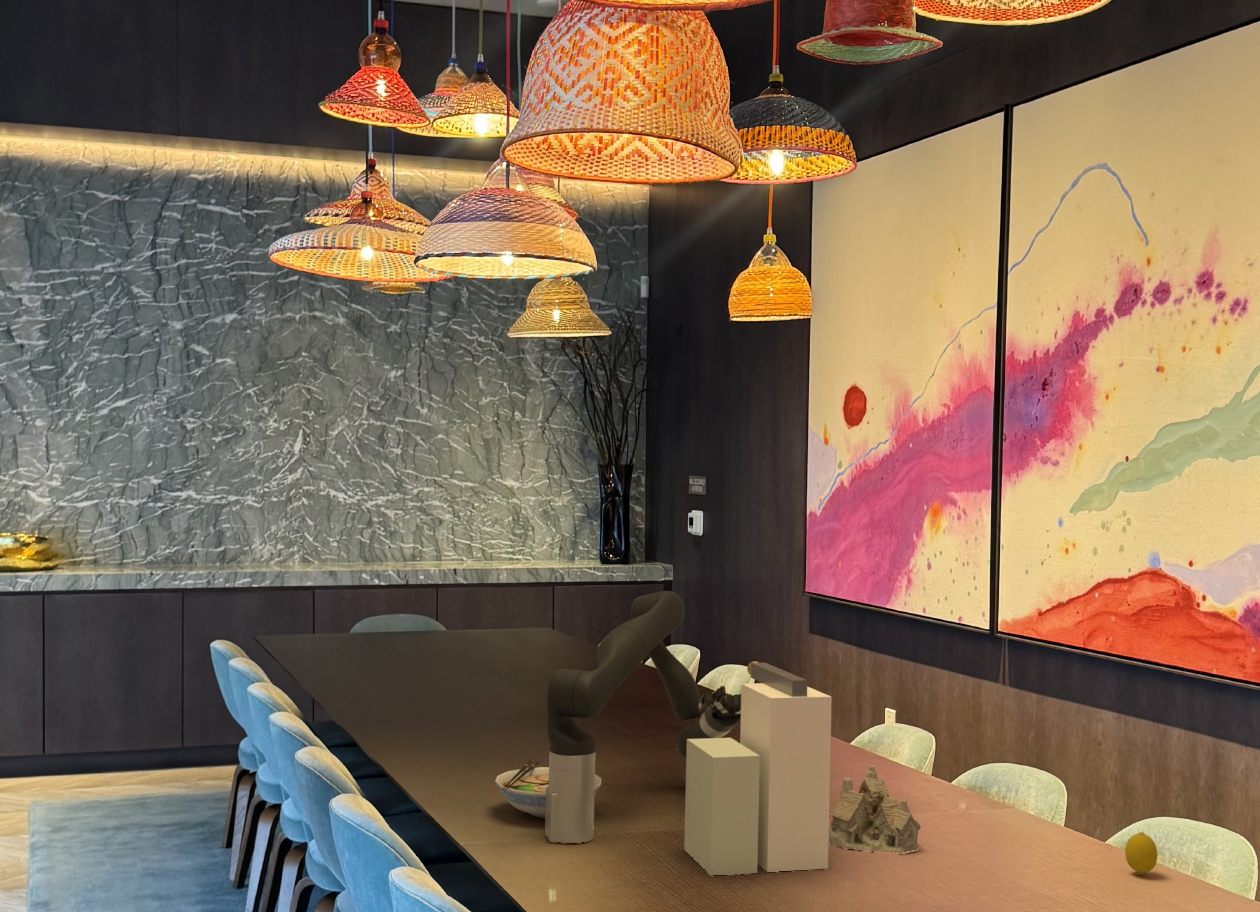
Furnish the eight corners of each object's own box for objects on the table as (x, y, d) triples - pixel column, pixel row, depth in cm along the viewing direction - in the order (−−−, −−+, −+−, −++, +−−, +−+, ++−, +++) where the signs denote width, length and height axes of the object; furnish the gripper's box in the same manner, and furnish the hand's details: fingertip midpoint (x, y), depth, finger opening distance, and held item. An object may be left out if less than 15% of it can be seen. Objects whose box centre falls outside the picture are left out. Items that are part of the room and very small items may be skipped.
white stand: (767, 873, 228) (771, 698, 228) (737, 847, 243) (741, 683, 244) (827, 869, 231) (831, 696, 231) (794, 844, 246) (798, 682, 247)
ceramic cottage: (815, 836, 252) (822, 763, 251) (885, 833, 258) (891, 761, 257) (856, 864, 237) (863, 786, 237) (928, 860, 243) (935, 784, 243)
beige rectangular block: (710, 876, 225) (713, 757, 225) (684, 850, 240) (686, 739, 241) (757, 873, 227) (759, 755, 227) (728, 848, 243) (730, 737, 243)
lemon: (1148, 870, 235) (1149, 828, 235) (1162, 880, 229) (1162, 836, 229) (1120, 870, 234) (1120, 827, 235) (1132, 879, 229) (1133, 836, 229)
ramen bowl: (586, 834, 249) (587, 793, 249) (477, 825, 254) (478, 785, 254) (612, 803, 274) (613, 766, 274) (513, 795, 278) (514, 759, 279)
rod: (792, 696, 230) (792, 680, 230) (747, 676, 253) (747, 661, 254) (807, 696, 231) (807, 680, 231) (760, 675, 254) (761, 661, 254)
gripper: (687, 700, 273) (708, 673, 260) (748, 699, 277) (772, 672, 263) (691, 733, 269) (713, 707, 256) (753, 731, 273) (778, 706, 260)
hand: (743, 689), depth 260 cm, fingers open, 8 cm apart
